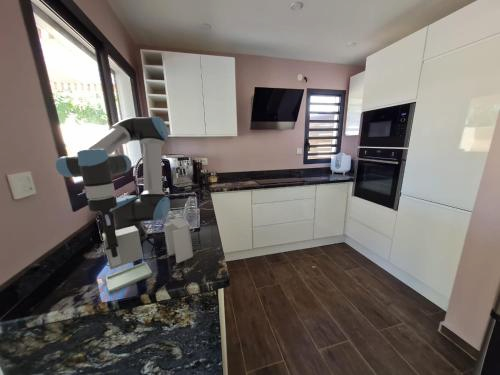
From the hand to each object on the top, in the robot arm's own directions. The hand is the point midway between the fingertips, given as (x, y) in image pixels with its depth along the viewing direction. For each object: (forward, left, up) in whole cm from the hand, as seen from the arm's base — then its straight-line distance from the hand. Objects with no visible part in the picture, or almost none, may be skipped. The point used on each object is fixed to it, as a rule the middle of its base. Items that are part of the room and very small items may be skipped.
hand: (115, 260), depth 69 cm
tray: (0, +3, -9) cm, 9 cm away
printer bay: (-2, +23, -9) cm, 25 cm away
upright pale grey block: (0, +3, -1) cm, 3 cm away
